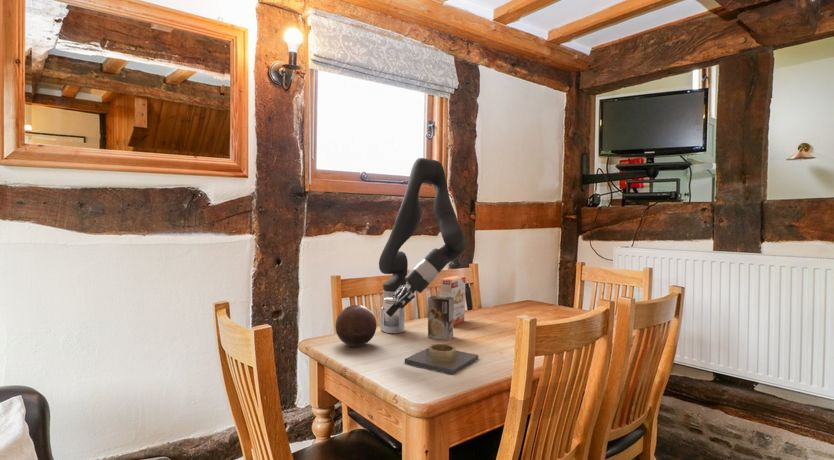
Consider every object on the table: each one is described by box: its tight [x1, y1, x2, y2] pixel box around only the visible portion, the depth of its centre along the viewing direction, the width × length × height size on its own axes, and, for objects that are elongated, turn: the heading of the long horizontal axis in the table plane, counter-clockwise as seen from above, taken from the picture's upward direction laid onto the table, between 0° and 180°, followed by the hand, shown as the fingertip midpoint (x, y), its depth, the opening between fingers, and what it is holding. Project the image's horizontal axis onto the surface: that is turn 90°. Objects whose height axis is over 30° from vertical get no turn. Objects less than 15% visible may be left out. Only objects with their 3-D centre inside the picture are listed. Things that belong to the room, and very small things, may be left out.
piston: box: [384, 297, 400, 327], centre depth 147 cm, size 5×5×9 cm
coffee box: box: [427, 295, 454, 341], centre depth 177 cm, size 9×6×16 cm
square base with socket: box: [404, 343, 479, 376], centre depth 148 cm, size 18×18×4 cm
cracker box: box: [440, 275, 467, 327], centre depth 200 cm, size 14×6×21 cm, turn 148°
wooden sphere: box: [335, 304, 377, 347], centre depth 164 cm, size 15×15×15 cm
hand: (386, 312), depth 147 cm, fingers closed on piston, 5 cm apart
